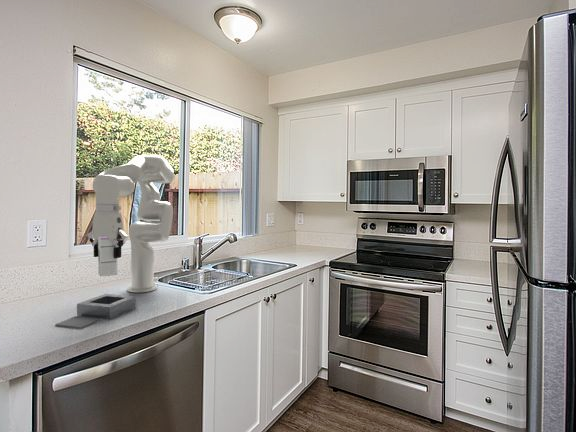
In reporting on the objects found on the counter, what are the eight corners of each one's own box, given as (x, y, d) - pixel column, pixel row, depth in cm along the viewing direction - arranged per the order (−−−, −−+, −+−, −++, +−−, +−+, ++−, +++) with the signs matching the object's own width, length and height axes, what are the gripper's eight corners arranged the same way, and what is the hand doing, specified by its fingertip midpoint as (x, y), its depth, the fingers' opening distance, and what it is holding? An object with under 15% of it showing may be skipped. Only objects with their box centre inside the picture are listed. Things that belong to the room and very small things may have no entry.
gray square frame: (105, 305, 131) (105, 293, 131) (135, 308, 128) (135, 296, 128) (77, 316, 118) (76, 303, 118) (109, 320, 115) (109, 307, 115)
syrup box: (117, 275, 122) (117, 235, 121) (99, 276, 118) (99, 236, 118) (115, 272, 127) (115, 233, 126) (97, 273, 123) (97, 234, 122)
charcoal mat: (75, 317, 116) (75, 316, 116) (100, 320, 114) (100, 318, 114) (55, 325, 109) (55, 324, 109) (81, 329, 107) (81, 327, 107)
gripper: (135, 209, 123) (135, 256, 124) (95, 208, 127) (95, 254, 128) (120, 209, 116) (120, 260, 117) (78, 208, 120) (79, 257, 120)
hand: (107, 256), depth 122 cm, fingers closed on syrup box, 7 cm apart
